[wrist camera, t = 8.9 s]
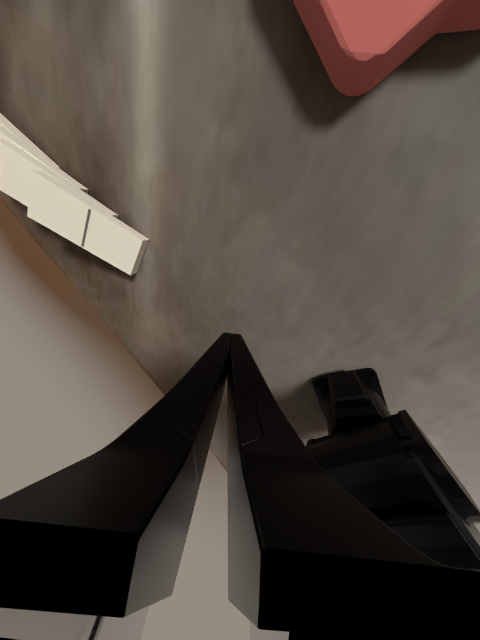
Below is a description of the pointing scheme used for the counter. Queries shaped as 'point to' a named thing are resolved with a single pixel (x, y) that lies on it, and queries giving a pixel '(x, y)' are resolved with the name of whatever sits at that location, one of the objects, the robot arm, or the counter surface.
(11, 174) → the domino
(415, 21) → the plaque
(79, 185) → the domino
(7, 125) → the domino
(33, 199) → the domino
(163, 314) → the counter surface
